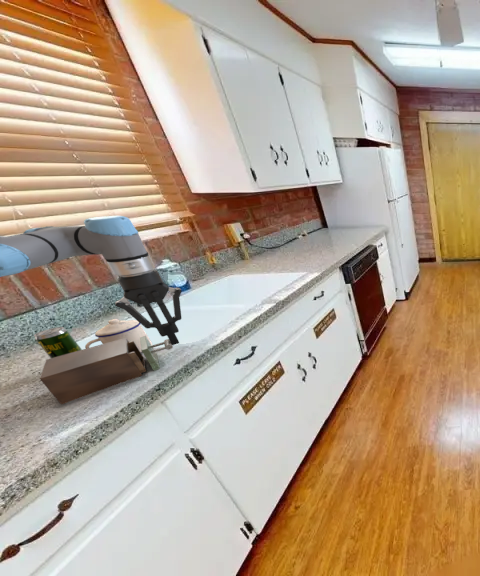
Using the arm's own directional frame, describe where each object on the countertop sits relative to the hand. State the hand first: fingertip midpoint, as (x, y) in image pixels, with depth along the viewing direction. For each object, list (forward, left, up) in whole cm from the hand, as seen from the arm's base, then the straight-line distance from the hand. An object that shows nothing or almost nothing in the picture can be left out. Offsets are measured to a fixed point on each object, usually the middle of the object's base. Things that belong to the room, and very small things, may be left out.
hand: (175, 342), depth 92 cm
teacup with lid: (-16, -11, -5) cm, 20 cm away
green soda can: (-19, -21, -5) cm, 29 cm away
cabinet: (0, -15, -5) cm, 16 cm away
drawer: (0, -9, -4) cm, 10 cm away
